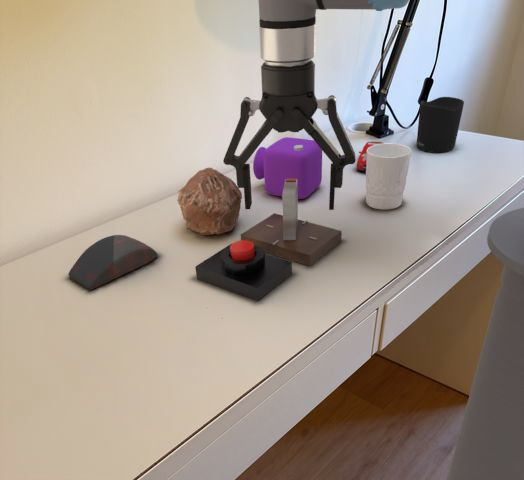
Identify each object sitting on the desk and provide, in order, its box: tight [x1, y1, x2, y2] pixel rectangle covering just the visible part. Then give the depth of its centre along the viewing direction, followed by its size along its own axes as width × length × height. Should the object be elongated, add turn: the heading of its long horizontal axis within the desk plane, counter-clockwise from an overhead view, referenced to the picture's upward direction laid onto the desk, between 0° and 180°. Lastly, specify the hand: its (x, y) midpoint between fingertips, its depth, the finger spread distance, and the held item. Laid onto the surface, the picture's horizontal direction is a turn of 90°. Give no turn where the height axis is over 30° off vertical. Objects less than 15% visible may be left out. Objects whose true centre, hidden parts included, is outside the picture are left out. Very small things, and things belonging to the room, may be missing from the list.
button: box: [230, 239, 255, 261], centre depth 80 cm, size 4×4×2 cm
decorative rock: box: [177, 167, 243, 236], centre depth 94 cm, size 13×11×10 cm
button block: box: [194, 243, 293, 302], centre depth 81 cm, size 12×9×4 cm
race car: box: [356, 141, 384, 172], centre depth 117 cm, size 13×5×4 cm, turn 162°
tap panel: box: [240, 212, 343, 267], centre depth 90 cm, size 14×10×2 cm
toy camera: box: [252, 136, 323, 200], centre depth 106 cm, size 11×14×10 cm
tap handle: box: [281, 178, 299, 240], centre depth 86 cm, size 6×2×8 cm, turn 174°
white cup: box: [365, 142, 412, 211], centre depth 98 cm, size 8×8×10 cm
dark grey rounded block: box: [67, 234, 158, 291], centre depth 85 cm, size 8×14×4 cm, turn 136°
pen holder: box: [416, 96, 465, 154], centre depth 122 cm, size 9×9×10 cm
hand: (289, 206), depth 86 cm, fingers open, 13 cm apart
